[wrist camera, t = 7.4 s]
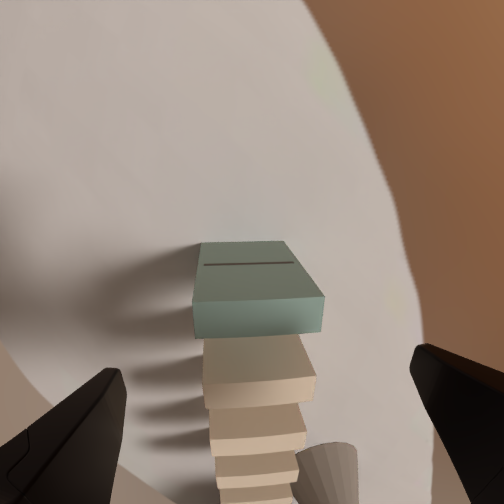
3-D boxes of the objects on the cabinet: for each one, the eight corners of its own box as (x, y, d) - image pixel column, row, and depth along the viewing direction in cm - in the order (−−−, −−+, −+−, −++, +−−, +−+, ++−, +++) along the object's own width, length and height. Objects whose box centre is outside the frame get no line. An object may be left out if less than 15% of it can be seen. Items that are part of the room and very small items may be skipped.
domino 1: (201, 242, 19) (192, 301, 11) (283, 240, 19) (324, 296, 12) (202, 268, 19) (195, 339, 12) (282, 265, 20) (320, 332, 12)
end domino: (274, 433, 25) (290, 505, 17) (217, 436, 24) (222, 511, 17) (275, 421, 24) (292, 496, 17) (216, 425, 24) (220, 503, 16)
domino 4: (276, 403, 24) (296, 481, 16) (214, 407, 23) (217, 488, 15) (277, 389, 23) (299, 469, 15) (213, 393, 23) (215, 476, 15)
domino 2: (281, 320, 21) (312, 400, 14) (207, 323, 21) (205, 409, 13) (282, 298, 21) (316, 375, 13) (205, 302, 20) (202, 383, 13)
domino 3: (278, 366, 22) (303, 448, 15) (210, 370, 22) (212, 456, 14) (279, 348, 22) (306, 431, 14) (209, 352, 21) (209, 439, 14)
